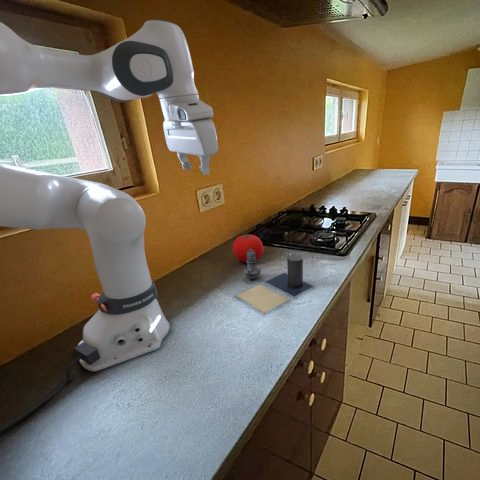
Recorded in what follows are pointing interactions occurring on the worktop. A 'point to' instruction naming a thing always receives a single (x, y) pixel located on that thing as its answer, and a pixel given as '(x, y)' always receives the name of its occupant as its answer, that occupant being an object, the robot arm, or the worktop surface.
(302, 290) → the slate mat
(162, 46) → the robot arm
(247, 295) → the oat mat
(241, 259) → the tomato
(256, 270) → the grey chess piece
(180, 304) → the worktop surface
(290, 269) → the dark grey cylinder
